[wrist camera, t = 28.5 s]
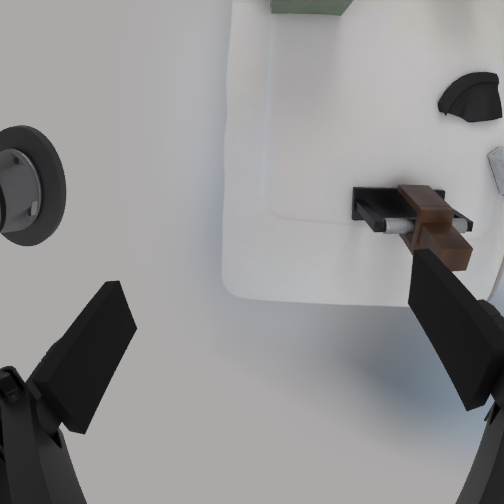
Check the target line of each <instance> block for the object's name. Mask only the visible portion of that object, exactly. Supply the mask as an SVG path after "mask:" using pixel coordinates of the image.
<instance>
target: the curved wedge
mask: <svg viewBox="0 0 504 504" xmlns="http://www.w3.org/2000/svg"><path fill="white" fill-rule="evenodd" d="M498 84H499V78H498V76H497V74H494V73H488V72H478V73H477V72H476V73H471V74H467V75H465V76H462V77H461V78H459V79H458V80H456V81H455V82H453V83H452V85H451V86H450V87H449V88H448V89H447V90H446V91H445V93H444V94H443V96H442V98H441V99H440V101H439V103H438V108H439V111H440V112H444V114H445V116H446V115H447V113H450V114H453V115H456V116H459V117H461V118H463V119H464V120H466V121H467V122H480V121H489V120H494V119H498V118H502V107H501V101H500V97H499V93H498Z"/></svg>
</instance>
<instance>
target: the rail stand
mask: <svg viewBox="0 0 504 504" xmlns="http://www.w3.org/2000/svg"><path fill="white" fill-rule="evenodd" d="M434 191H435V192H436V193H437V194H438V195H439V196H440V197H441V198H442V199H443V200H444V198H445V191H444V190H434ZM416 217H417V212H416V211H415V210H414V209H413V208H412V206H411V205H410V204H409V203H408V202H407V201H406V199H405V198H404V197H403V196H402V195H401V194H400V193H399V192H398V188H364V187H353V204H352V220H365V221H366V222H367V224H368V225H369V226H370V227H371V229H372V230H373V231H374V232H383V233H384V234H413V232H414V227H415V222H416ZM452 225H453V226H454V228H455V229H456V230H457V231H458V232H459V233H465V232H466V231H472V227H473V222H472V221H471V220H469V219H468V218H466V217H465V216H463V215H462V214H460V213H459V212H457V211H456V210H455V213H454V217H453V221H452Z"/></svg>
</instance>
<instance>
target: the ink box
mask: <svg viewBox="0 0 504 504" xmlns="http://www.w3.org/2000/svg"><path fill="white" fill-rule="evenodd" d="M488 159H489V162H490V165H491V168H492V171H493V174H494V177H495V180H496V183H497V186H498V189H499V193H500V194H502V195H504V149H503V148H500V147H498V148H497V149H495V150H494V151H492V152H491V153H490V154H488Z"/></svg>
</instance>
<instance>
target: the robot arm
mask: <svg viewBox="0 0 504 504" xmlns="http://www.w3.org/2000/svg"><path fill="white" fill-rule="evenodd" d="M43 200H44V189H43V182H42V178H41V174H40V171H39V169H38V167H37V165H36V163H35V162H34V160H33V159H32V158H31V156H30V155H29V154H27V153H26V152H25V151H23V150H21V149H18V148H10V149H6V150H3V151H1V152H0V233H6V232H14V231H20V230H23V229H25V228H27V227H29V226H30V225H32V224H33V223H34V222H35V221H36V220H37V219H38V217H39V215H40V213H41V210H42V206H43ZM408 304H409V306H410V307H411V309H412V311H413V312H414V314H415V315H416V317H417V319H418V321H419V322H420V324H421V326H422V328H423V329H424V331H425V333H426V335H427V336H428V338H429V340H430V342H431V343H432V345H433V347H434V348H435V350H436V352H437V354H438V356H439V358H440V360H441V361H442V363H443V365H444V367H445V369H446V371H447V373H448V375H449V377H450V378H451V380H452V382H453V384H454V386H455V388H456V390H457V392H458V394H459V396H460V398H461V400H462V402H463V404H464V406H465V409H466V411H469V410H472V409H475V408H478V407H480V406H483V405H485V403H486V401H487V399H488V397H489V395H490V393H491V395H492V397H493V398H494V400H495V401H494V403H493V405H492V407H491V409H490V410H489V412H488V414H487V416H486V417H485V419H484V421H487V419H488V421H487V424H486V428H485V431H484V434H483V437H482V440H481V443H480V446H479V449H478V451H477V454H476V457H475V460H474V462H473V465H472V467H471V470H470V472H469V475H468V477H467V479H466V482H465V484H464V487H463V489H462V491H461V493H460V495H459V498H458V499H457V502H456V504H504V317H503V316H501V315H500V313H499V311H498V310H497V309H496V308H495V307H494V306H493V305H491V304H490V303H488V302H487V301H485V300H484V299H482V300H476V298H475V297H474V296H473V295H472V294H471V293H470V292H469V290H468V289H467V288H466V287H465V286H464V285H463V284H462V283H461V282H460V280H459V279H458V278H457V277H456V276H455V275H454V274H453V273H452V272H451V271H450V270H449V269H448V268H447V266H446V265H445V264H444V263H443V262H442V261H441V260H440V259H439V258H438V257H437V256H436V255H435V254H434V253H433V252H432V251H431V250H430V249H429V248H426V249H418V250H414V253H413V264H412V275H411V284H410V292H409V300H408ZM136 330H137V327H136V325H135V322H134V319H133V317H132V314H131V311H130V309H129V307H128V304H127V301H126V298H125V295H124V293H123V290H122V287H121V284H120V281H108V282H105V283H104V284H103V286H102V287H101V288H100V289H99V291H98V292H97V293H96V294H95V295H94V297H93V298H92V299H91V300H90V302H89V303H88V304H87V305H86V307H85V308H84V309H83V311H82V312H81V313H80V315H79V316H78V317H77V318H76V320H75V321H74V322H73V323H72V325H71V326H70V328H69V329H68V330H67V331H66V333H65V334H64V335H63V337H62V338H60V339H59V340H58V341H57V342H56V343H54V344H53V345H52V346H51V347H50V349H49V350H48V351H47V353H46V355H45V356H44V357H43V358H42V360H41V362H40V363H39V364H38V365H37V367H36V368H35V370H34V371H33V372H32V374H31V375H30V377H29V378H28V380H27V381H26V383H25V382H24V381H23V379H22V378H21V376H20V375H19V373H18V372H17V370H16V369H15V368H14V367H13V366H6V367H3V368H1V369H0V504H87V502H86V500H85V498H84V495H83V493H82V490H81V487H80V485H79V482H78V479H77V477H76V475H75V471H74V468H73V465H72V462H71V459H70V456H69V453H68V450H67V446H66V443H65V440H64V436H63V433H62V431H61V430H60V429H59V425H60V424H61V422H63V424H64V425H65V426H66V427H67V429H68V430H69V431H71V432H76V433H80V434H85V433H86V431H87V429H88V426H89V424H90V422H91V420H92V418H93V416H94V414H95V411H96V409H97V407H98V405H99V403H100V401H101V399H102V397H103V395H104V393H105V391H106V389H107V386H108V384H109V382H110V380H111V378H112V376H113V374H114V372H115V370H116V368H117V366H118V364H119V362H120V360H121V359H122V357H123V355H124V353H125V350H126V349H127V347H128V345H129V343H130V341H131V339H132V337H133V335H134V333H135V332H136Z"/></svg>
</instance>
